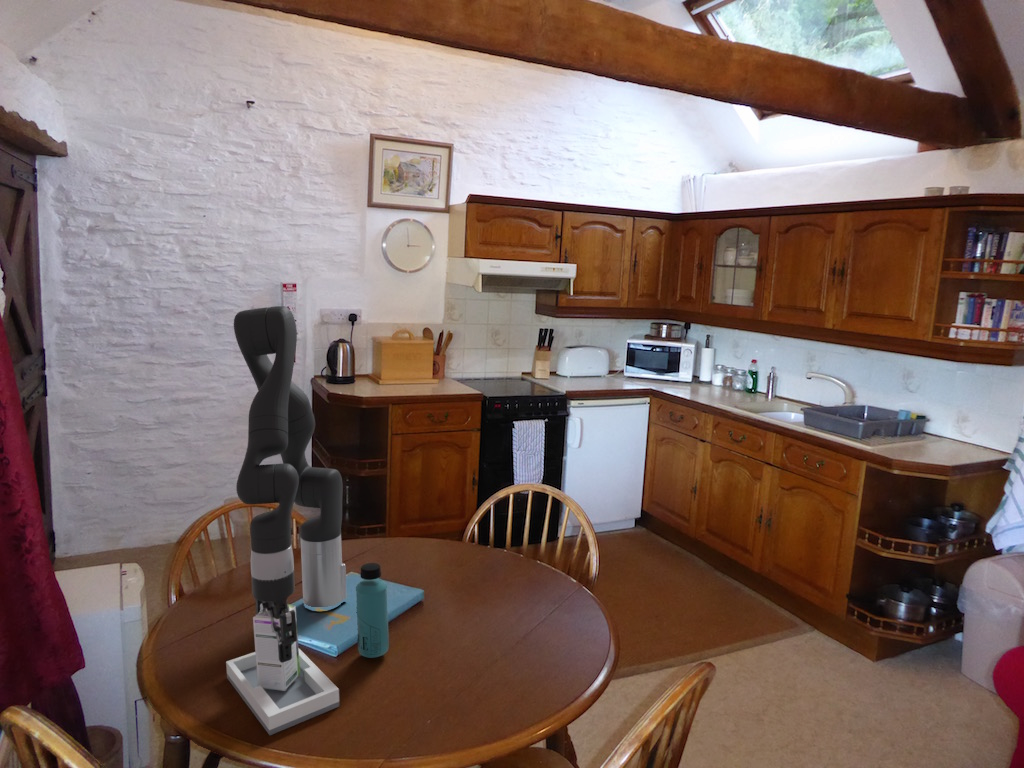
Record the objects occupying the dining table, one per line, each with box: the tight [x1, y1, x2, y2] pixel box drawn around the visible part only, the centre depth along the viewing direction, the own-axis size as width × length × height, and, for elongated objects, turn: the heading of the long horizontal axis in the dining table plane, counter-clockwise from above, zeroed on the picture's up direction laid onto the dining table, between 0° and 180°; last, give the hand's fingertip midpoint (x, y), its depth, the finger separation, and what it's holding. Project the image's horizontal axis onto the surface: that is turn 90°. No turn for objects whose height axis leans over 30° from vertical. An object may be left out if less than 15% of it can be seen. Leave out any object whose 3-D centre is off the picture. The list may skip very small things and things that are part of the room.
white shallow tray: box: [225, 647, 340, 736], centre depth 135 cm, size 13×22×4 cm, turn 40°
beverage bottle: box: [355, 562, 390, 659], centre depth 146 cm, size 6×7×20 cm
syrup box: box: [252, 603, 300, 691], centre depth 134 cm, size 6×6×14 cm
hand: (276, 651), depth 134 cm, fingers closed on syrup box, 7 cm apart
